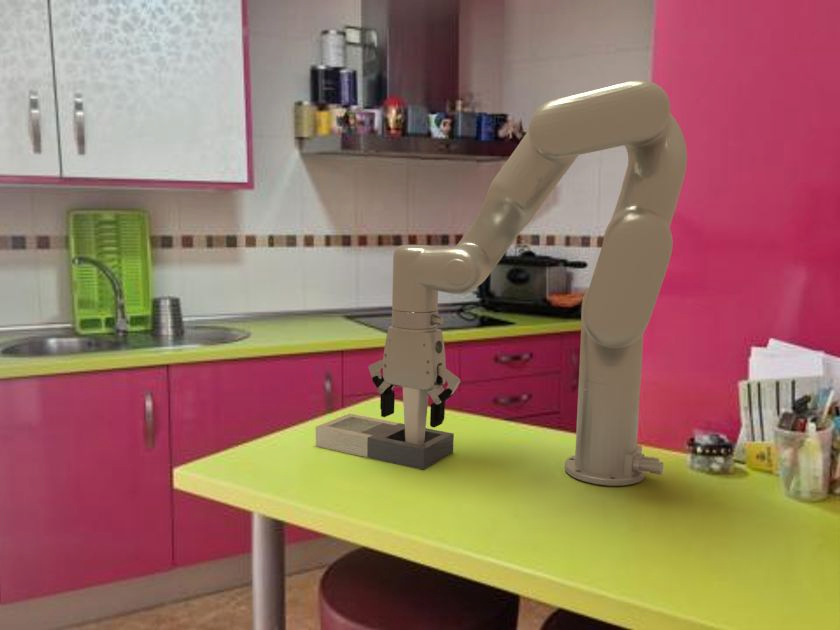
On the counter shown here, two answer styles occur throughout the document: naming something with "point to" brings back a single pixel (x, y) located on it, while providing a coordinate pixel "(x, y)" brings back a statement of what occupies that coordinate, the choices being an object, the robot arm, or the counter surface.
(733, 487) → the counter surface
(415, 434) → the perfume bottle
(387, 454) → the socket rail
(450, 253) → the robot arm
